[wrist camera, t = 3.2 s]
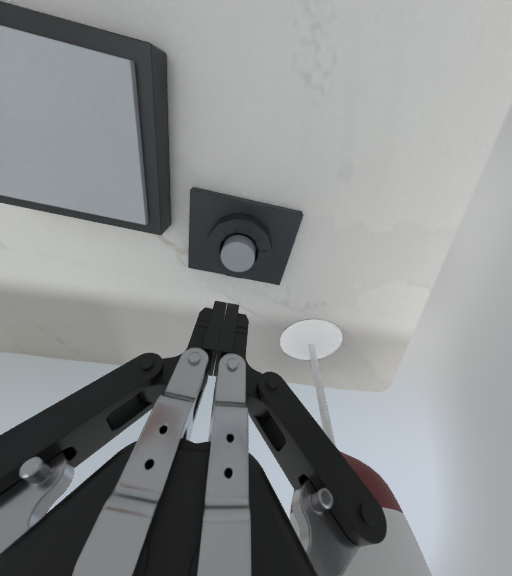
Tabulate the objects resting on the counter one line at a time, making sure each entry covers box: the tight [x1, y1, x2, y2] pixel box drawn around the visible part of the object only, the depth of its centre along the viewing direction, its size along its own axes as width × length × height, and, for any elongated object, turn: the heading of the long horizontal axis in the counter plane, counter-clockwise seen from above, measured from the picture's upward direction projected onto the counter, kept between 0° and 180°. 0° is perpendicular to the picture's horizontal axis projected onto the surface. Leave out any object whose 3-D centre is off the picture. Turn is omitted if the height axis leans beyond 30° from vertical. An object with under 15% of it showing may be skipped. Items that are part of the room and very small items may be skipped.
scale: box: [0, 1, 171, 235], centre depth 16 cm, size 14×12×3 cm
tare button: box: [221, 235, 255, 272], centre depth 20 cm, size 3×3×2 cm
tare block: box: [188, 187, 303, 285], centre depth 22 cm, size 10×8×2 cm
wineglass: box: [280, 319, 432, 576], centre depth 22 cm, size 9×10×23 cm
